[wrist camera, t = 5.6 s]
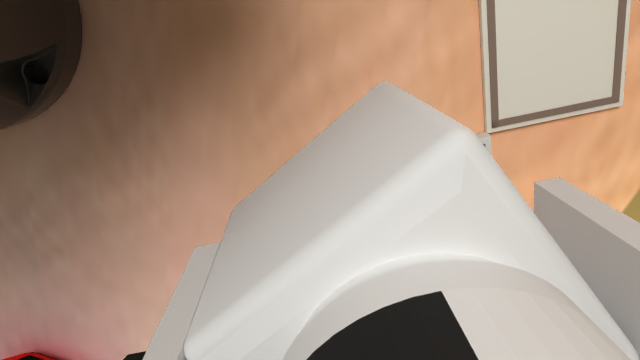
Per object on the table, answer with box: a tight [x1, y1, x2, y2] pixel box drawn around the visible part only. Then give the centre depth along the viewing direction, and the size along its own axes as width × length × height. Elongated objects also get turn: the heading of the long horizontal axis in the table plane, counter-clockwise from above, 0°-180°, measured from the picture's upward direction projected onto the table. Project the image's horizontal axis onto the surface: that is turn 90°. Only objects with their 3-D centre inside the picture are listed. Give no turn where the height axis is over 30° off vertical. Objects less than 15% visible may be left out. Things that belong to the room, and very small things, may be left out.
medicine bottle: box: [184, 81, 639, 360], centre depth 9 cm, size 7×7×12 cm
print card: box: [478, 0, 631, 133], centre depth 28 cm, size 10×10×1 cm
